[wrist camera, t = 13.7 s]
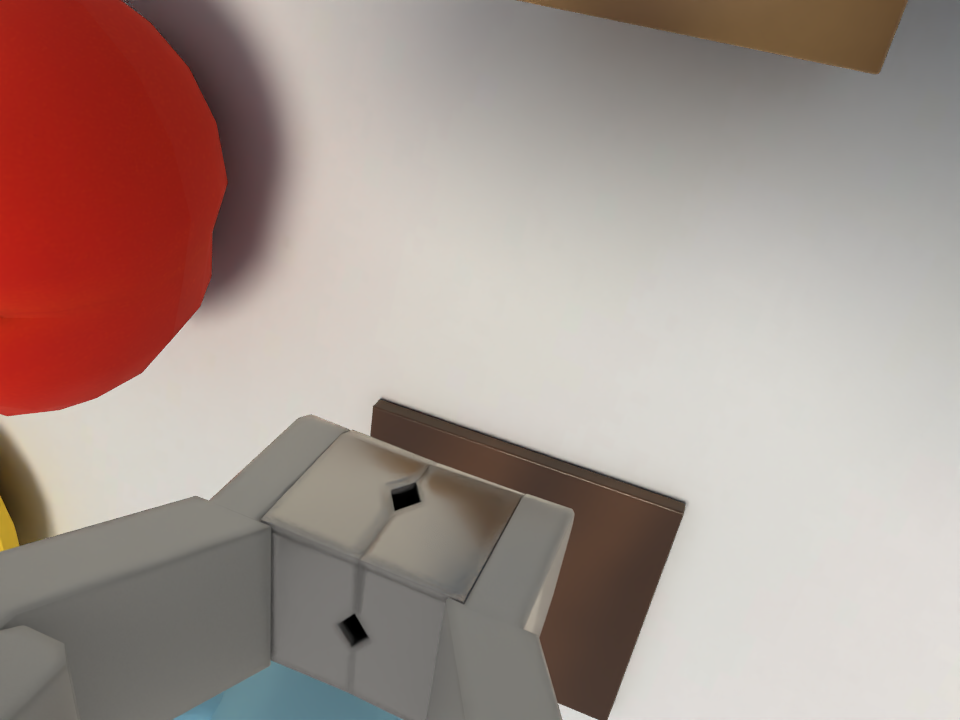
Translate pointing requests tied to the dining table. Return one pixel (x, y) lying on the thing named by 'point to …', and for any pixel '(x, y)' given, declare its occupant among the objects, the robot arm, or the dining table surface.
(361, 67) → the dining table surface
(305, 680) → the teapot
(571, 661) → the coaster
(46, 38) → the tomato
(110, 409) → the dining table surface
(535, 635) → the robot arm
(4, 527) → the vase
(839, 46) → the prop block
